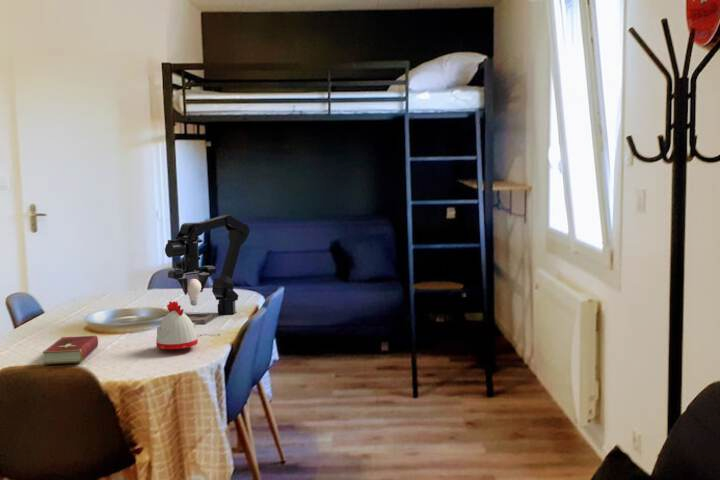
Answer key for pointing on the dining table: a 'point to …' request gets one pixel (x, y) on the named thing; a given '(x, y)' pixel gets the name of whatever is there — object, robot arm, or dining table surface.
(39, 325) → the dining table surface
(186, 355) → the dining table surface
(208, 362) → the dining table surface
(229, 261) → the robot arm
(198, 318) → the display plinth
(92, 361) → the dining table surface
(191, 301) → the light bulb
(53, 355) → the hardcover book
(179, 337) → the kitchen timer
